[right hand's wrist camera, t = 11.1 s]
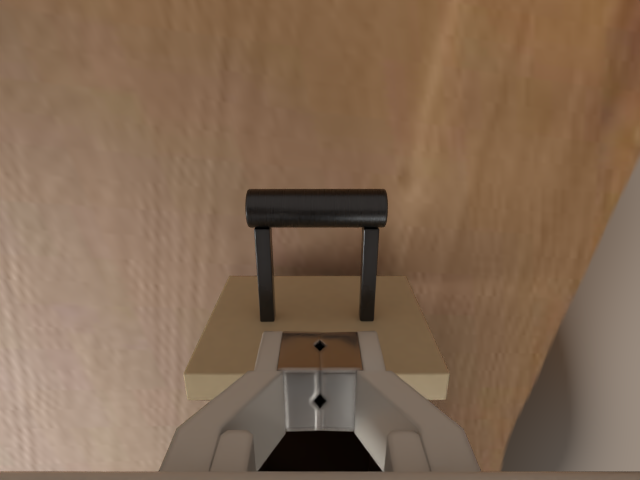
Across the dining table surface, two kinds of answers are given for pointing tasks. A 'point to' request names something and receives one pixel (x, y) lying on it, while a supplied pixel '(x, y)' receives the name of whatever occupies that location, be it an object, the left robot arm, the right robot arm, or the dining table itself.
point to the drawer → (316, 318)
